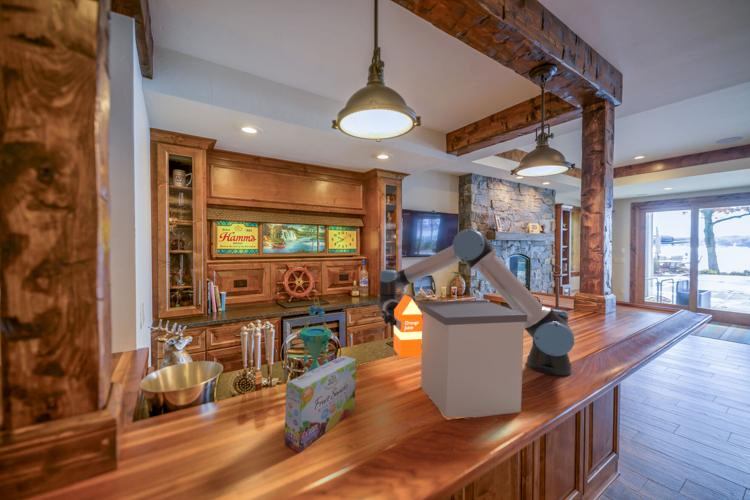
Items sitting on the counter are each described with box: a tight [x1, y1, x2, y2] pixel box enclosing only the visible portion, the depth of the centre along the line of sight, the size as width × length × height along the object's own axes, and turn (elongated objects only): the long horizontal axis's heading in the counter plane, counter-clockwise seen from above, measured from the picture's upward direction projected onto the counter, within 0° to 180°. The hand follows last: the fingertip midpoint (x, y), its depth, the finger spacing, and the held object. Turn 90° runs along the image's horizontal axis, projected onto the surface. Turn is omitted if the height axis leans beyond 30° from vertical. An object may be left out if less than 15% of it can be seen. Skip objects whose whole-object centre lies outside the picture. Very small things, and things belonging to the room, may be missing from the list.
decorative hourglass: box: [299, 296, 333, 375], centre depth 96 cm, size 11×11×30 cm
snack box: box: [284, 355, 358, 454], centre depth 77 cm, size 21×6×15 cm, turn 148°
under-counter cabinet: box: [417, 299, 527, 418], centre depth 93 cm, size 25×21×28 cm
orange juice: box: [393, 294, 423, 358], centre depth 106 cm, size 8×9×20 cm
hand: (412, 325), depth 102 cm, fingers closed on orange juice, 8 cm apart
